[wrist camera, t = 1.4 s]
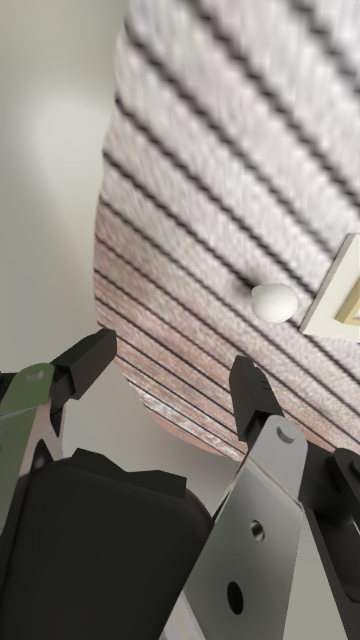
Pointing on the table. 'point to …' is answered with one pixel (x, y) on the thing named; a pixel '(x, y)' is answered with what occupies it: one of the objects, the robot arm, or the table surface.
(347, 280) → the lamp base
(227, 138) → the table surface
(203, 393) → the table surface
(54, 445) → the robot arm
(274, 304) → the lightbulb
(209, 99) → the table surface
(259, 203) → the table surface
